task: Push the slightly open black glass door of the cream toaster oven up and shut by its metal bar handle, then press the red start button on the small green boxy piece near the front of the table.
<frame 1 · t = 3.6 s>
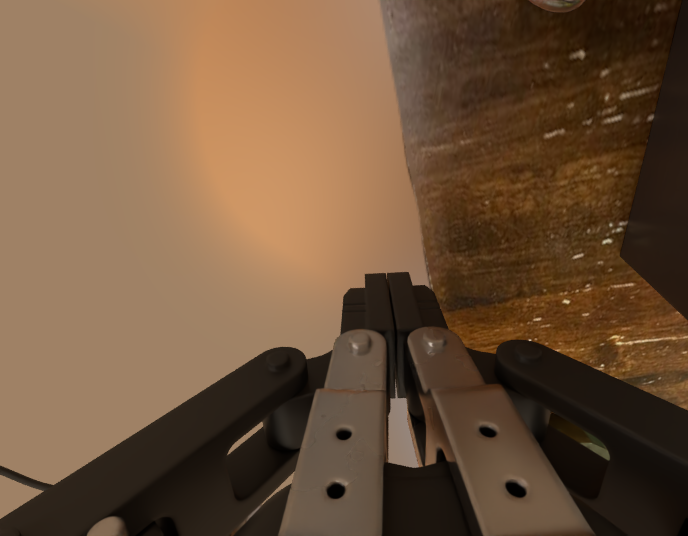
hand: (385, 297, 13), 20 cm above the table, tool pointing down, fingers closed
green boxy piece: (556, 437, 42), on the table
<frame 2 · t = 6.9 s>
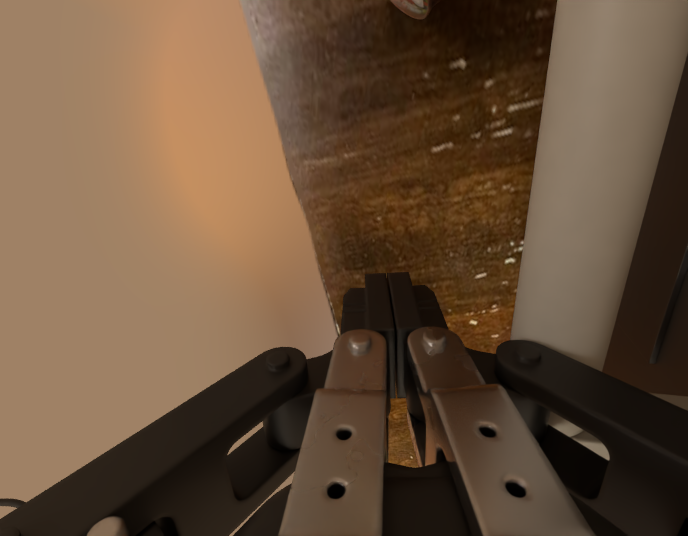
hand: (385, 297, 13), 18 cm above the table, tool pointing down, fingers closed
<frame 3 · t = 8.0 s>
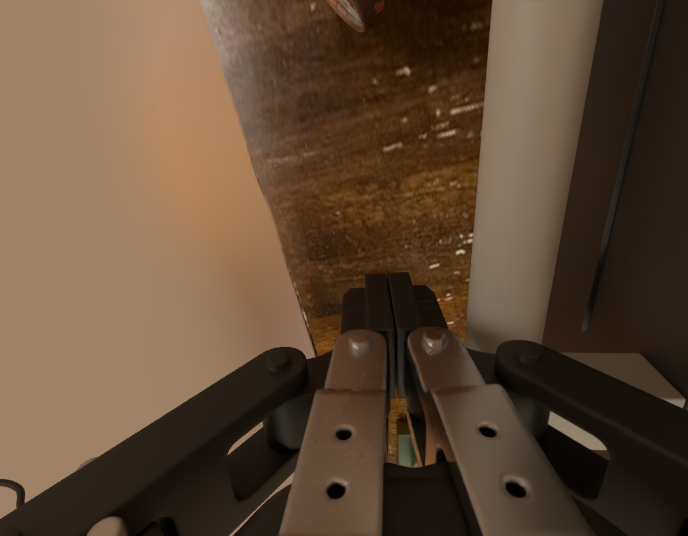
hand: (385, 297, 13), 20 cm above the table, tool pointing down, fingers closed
green boxy piece: (440, 441, 43), on the table
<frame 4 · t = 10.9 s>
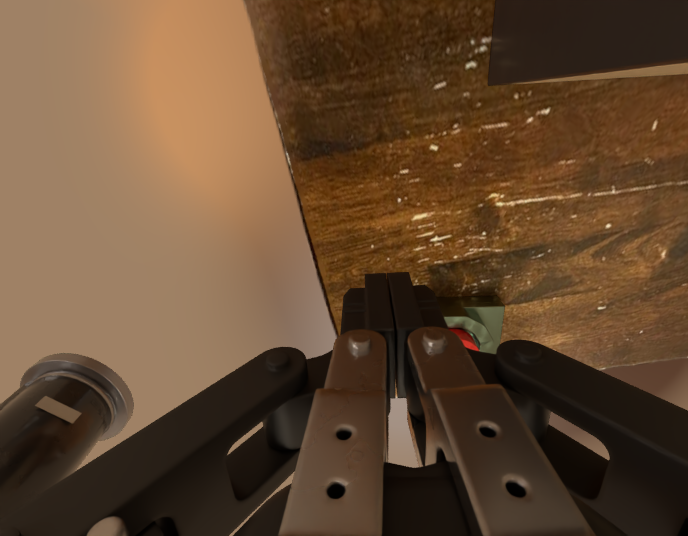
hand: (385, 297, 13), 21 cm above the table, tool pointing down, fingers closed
start button: (453, 354, 34), point 4 cm above the table, slide at 0.1 cm
green boxy piece: (443, 326, 38), on the table
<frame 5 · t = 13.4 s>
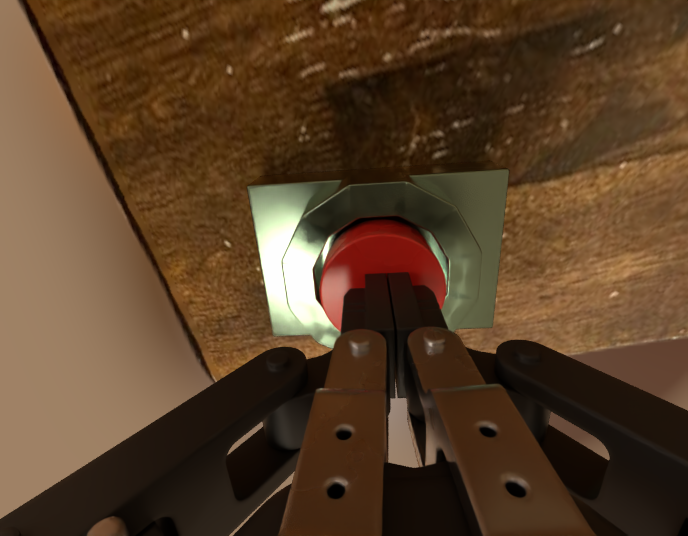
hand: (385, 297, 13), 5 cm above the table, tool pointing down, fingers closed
start button: (381, 283, 14), point 4 cm above the table, slide at -0.2 cm, touching gripper
green boxy piece: (376, 243, 18), on the table
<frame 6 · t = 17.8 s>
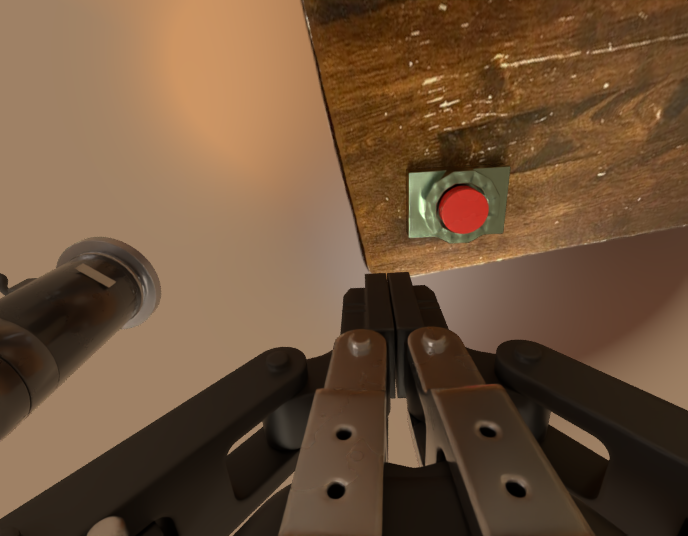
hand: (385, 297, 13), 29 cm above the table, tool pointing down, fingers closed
start button: (463, 209, 36), point 4 cm above the table, slide at 0.1 cm
green boxy piece: (452, 199, 41), on the table
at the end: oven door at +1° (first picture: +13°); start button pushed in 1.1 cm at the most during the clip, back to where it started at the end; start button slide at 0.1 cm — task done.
